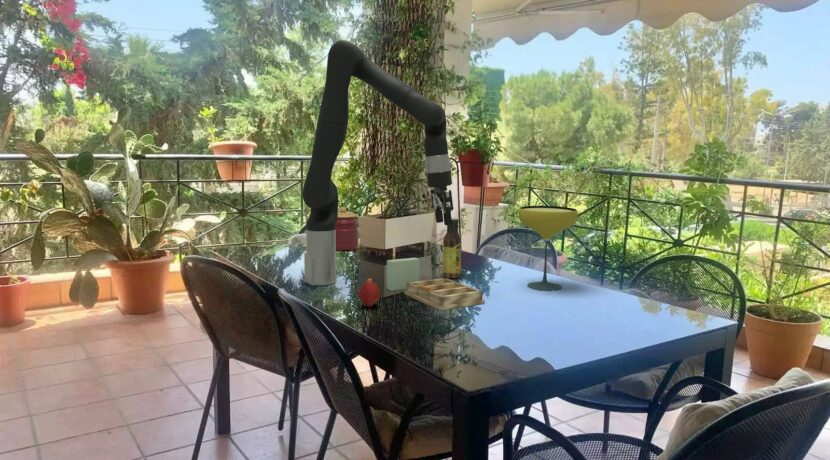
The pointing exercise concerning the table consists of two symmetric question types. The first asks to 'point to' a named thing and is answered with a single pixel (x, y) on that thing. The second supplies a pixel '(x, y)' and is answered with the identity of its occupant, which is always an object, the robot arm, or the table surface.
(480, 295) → the rack
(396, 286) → the block
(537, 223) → the cocktail glass
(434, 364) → the table surface
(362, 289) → the onion
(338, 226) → the canister
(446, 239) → the sauce bottle
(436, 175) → the robot arm
